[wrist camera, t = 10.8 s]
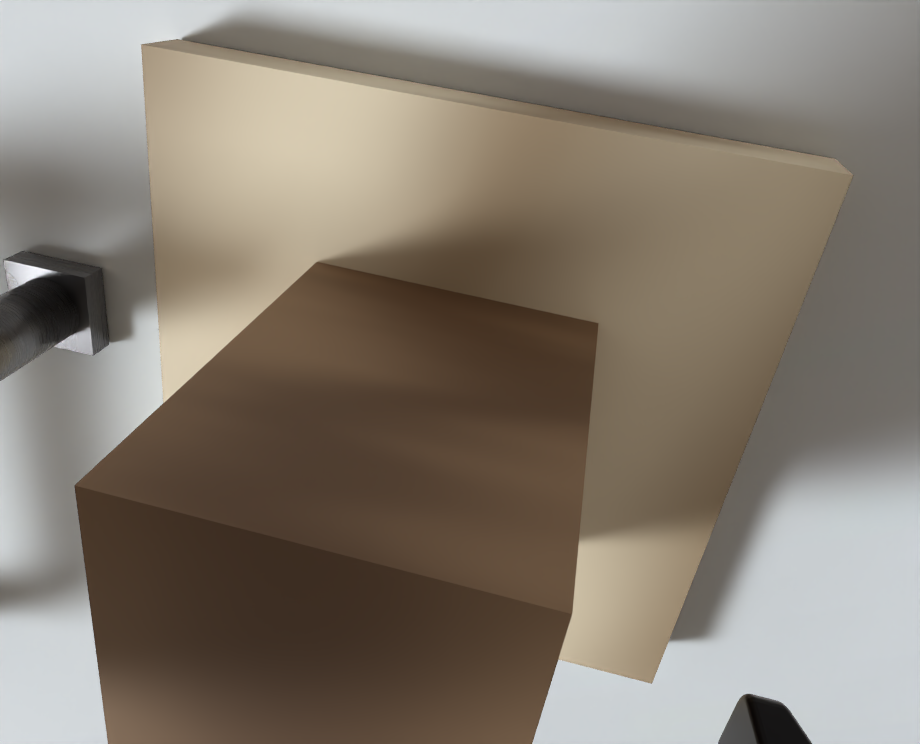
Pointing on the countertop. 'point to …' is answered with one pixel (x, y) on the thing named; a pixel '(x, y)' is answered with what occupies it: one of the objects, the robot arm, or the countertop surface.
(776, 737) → the robot arm
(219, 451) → the walnut block
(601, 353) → the birch pad
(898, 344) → the countertop surface
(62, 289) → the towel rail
